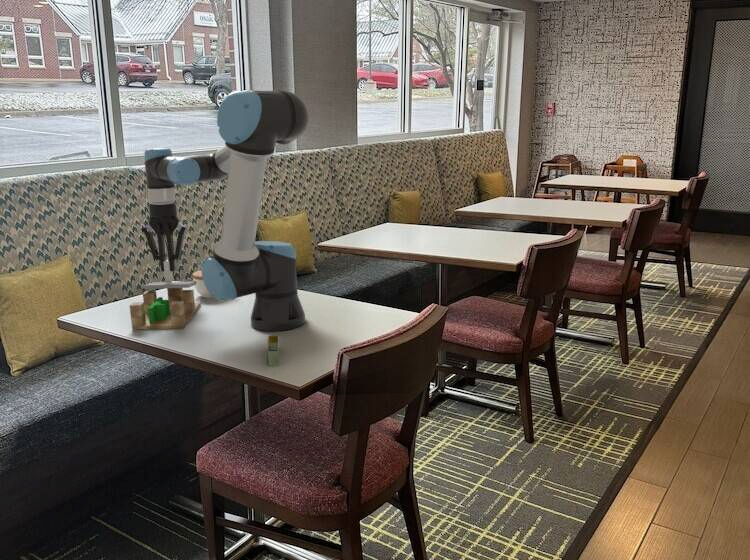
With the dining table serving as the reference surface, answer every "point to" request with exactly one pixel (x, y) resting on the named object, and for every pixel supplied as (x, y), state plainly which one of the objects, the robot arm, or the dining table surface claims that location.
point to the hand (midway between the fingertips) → (169, 281)
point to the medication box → (273, 350)
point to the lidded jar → (201, 285)
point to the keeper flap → (170, 284)
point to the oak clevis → (179, 310)
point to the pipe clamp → (159, 310)
